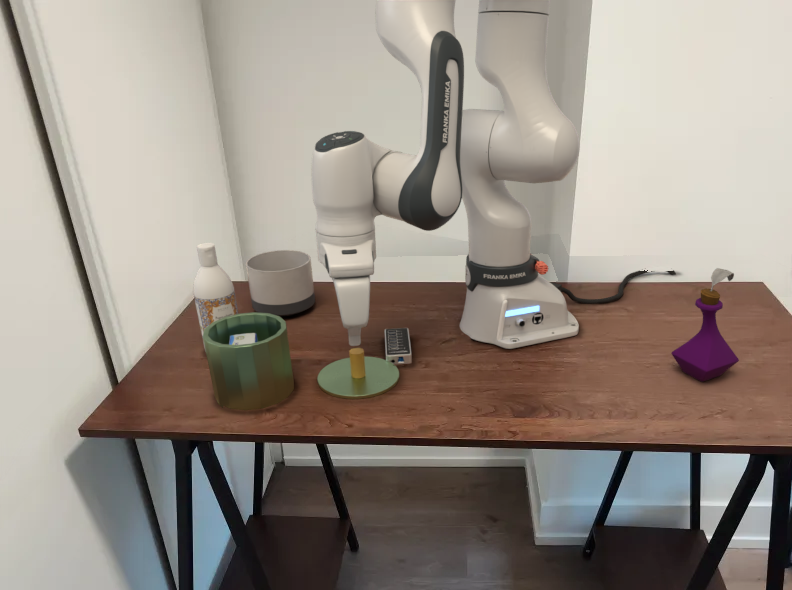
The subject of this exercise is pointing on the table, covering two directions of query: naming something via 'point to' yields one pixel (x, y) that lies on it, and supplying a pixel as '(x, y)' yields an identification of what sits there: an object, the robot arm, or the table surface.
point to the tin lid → (358, 376)
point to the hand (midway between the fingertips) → (352, 331)
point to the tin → (249, 361)
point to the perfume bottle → (707, 338)
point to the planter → (281, 282)
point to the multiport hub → (398, 346)
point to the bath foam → (212, 289)
